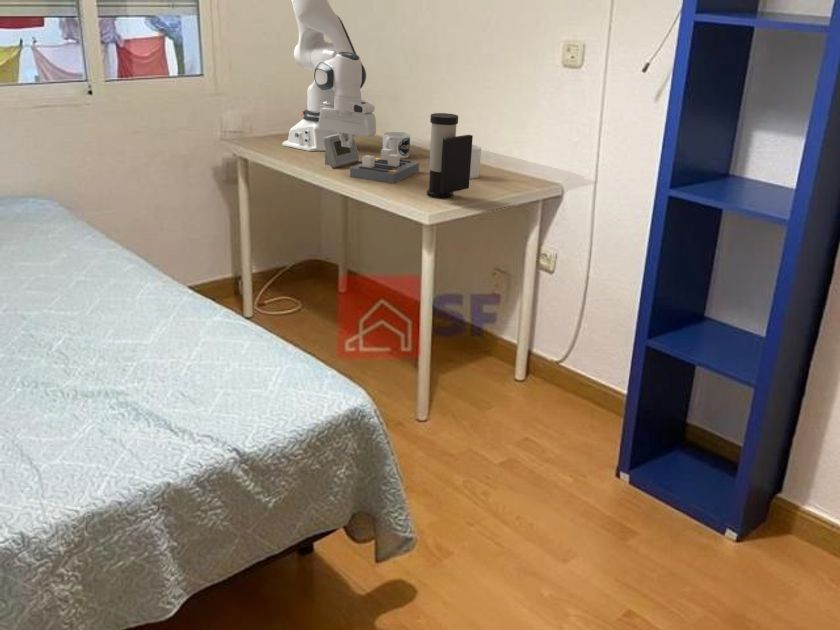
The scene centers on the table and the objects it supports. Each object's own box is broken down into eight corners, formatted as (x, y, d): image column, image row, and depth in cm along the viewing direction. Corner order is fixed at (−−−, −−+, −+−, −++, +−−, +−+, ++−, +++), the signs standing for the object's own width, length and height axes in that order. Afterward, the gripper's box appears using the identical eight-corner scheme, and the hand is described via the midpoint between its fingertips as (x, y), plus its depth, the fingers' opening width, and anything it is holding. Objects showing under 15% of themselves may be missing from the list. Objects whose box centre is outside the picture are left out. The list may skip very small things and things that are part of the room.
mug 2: (442, 173, 284) (443, 144, 280) (457, 170, 290) (459, 141, 286) (468, 180, 277) (471, 149, 273) (483, 176, 282) (486, 147, 278)
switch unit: (350, 176, 273) (350, 166, 271) (377, 165, 291) (378, 155, 289) (393, 183, 267) (393, 172, 266) (418, 171, 285) (419, 161, 284)
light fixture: (442, 189, 262) (447, 111, 253) (468, 196, 256) (474, 116, 246) (416, 195, 254) (420, 114, 245) (443, 202, 247) (448, 120, 238)
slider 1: (362, 167, 272) (362, 156, 270) (366, 165, 274) (366, 155, 273) (370, 168, 271) (370, 157, 269) (374, 166, 273) (374, 156, 272)
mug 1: (389, 151, 314) (389, 130, 311) (414, 155, 310) (415, 133, 307) (373, 157, 303) (374, 135, 300) (399, 161, 299) (400, 139, 296)
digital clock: (332, 169, 282) (332, 138, 278) (315, 164, 288) (315, 134, 283) (366, 163, 293) (366, 133, 289) (348, 159, 299) (349, 129, 295)
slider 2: (380, 159, 284) (381, 149, 282) (384, 158, 286) (384, 148, 285) (388, 160, 283) (388, 150, 281) (392, 159, 285) (392, 149, 284)
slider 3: (387, 165, 276) (387, 155, 274) (391, 164, 278) (391, 153, 277) (395, 166, 275) (395, 156, 273) (399, 165, 277) (399, 154, 276)
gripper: (315, 101, 268) (314, 144, 273) (369, 109, 260) (368, 152, 265) (325, 100, 273) (324, 141, 278) (379, 107, 266) (377, 149, 271)
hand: (346, 146), depth 272 cm, fingers closed
